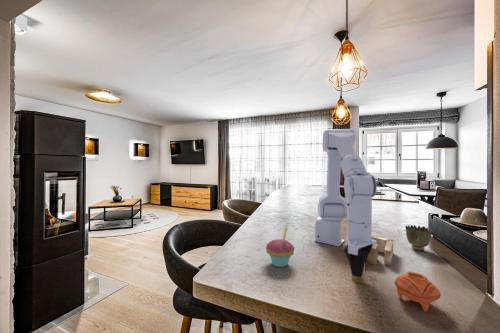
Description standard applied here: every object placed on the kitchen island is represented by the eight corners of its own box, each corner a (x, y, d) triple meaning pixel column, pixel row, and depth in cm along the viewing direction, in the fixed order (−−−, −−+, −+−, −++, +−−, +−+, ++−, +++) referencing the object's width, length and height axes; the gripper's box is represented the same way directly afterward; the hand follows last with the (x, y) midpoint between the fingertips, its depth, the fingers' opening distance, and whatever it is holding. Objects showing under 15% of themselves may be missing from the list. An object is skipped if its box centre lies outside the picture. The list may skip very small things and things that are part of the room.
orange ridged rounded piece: (395, 306, 46) (394, 272, 47) (394, 296, 52) (394, 266, 53) (445, 320, 41) (443, 282, 43) (438, 308, 47) (436, 275, 49)
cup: (436, 255, 73) (436, 231, 73) (411, 253, 74) (412, 229, 74) (423, 246, 80) (423, 225, 80) (401, 245, 81) (401, 224, 81)
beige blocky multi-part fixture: (346, 255, 72) (347, 241, 72) (354, 244, 81) (354, 232, 81) (390, 266, 64) (390, 251, 64) (393, 253, 74) (393, 239, 74)
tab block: (346, 279, 56) (346, 255, 56) (360, 255, 72) (360, 236, 72) (368, 286, 53) (368, 260, 53) (377, 259, 69) (378, 239, 69)
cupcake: (295, 259, 68) (296, 222, 68) (291, 272, 60) (292, 229, 60) (269, 255, 71) (269, 219, 71) (262, 267, 63) (262, 226, 63)
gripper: (372, 230, 48) (371, 291, 48) (380, 217, 59) (379, 266, 59) (339, 225, 52) (338, 280, 52) (352, 214, 64) (351, 259, 64)
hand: (358, 272), depth 56 cm, fingers open, 3 cm apart
